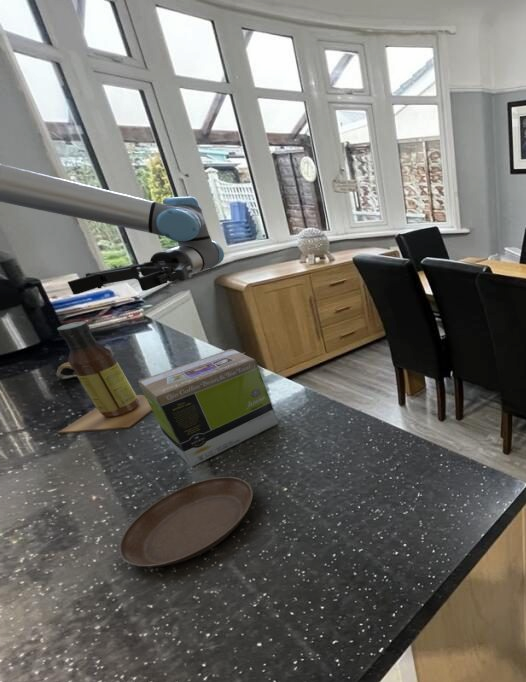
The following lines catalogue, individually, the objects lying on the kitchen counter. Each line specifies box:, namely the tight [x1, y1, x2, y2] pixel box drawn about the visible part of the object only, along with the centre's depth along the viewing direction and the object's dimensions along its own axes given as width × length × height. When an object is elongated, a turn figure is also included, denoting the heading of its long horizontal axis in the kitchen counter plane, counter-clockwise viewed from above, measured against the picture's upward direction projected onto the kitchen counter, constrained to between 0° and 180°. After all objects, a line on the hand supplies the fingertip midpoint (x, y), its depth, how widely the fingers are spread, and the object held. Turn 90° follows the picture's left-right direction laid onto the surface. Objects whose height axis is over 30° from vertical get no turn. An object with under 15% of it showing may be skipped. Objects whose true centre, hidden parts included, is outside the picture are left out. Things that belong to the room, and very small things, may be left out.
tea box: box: [137, 348, 279, 468], centre depth 72 cm, size 15×10×15 cm, turn 145°
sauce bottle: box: [56, 321, 139, 417], centre depth 79 cm, size 6×6×20 cm
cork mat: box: [58, 394, 153, 434], centre depth 84 cm, size 13×13×1 cm
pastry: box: [55, 361, 78, 380], centre depth 102 cm, size 9×7×4 cm
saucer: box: [118, 476, 254, 568], centre depth 55 cm, size 15×15×3 cm
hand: (106, 286), depth 82 cm, fingers open, 13 cm apart
